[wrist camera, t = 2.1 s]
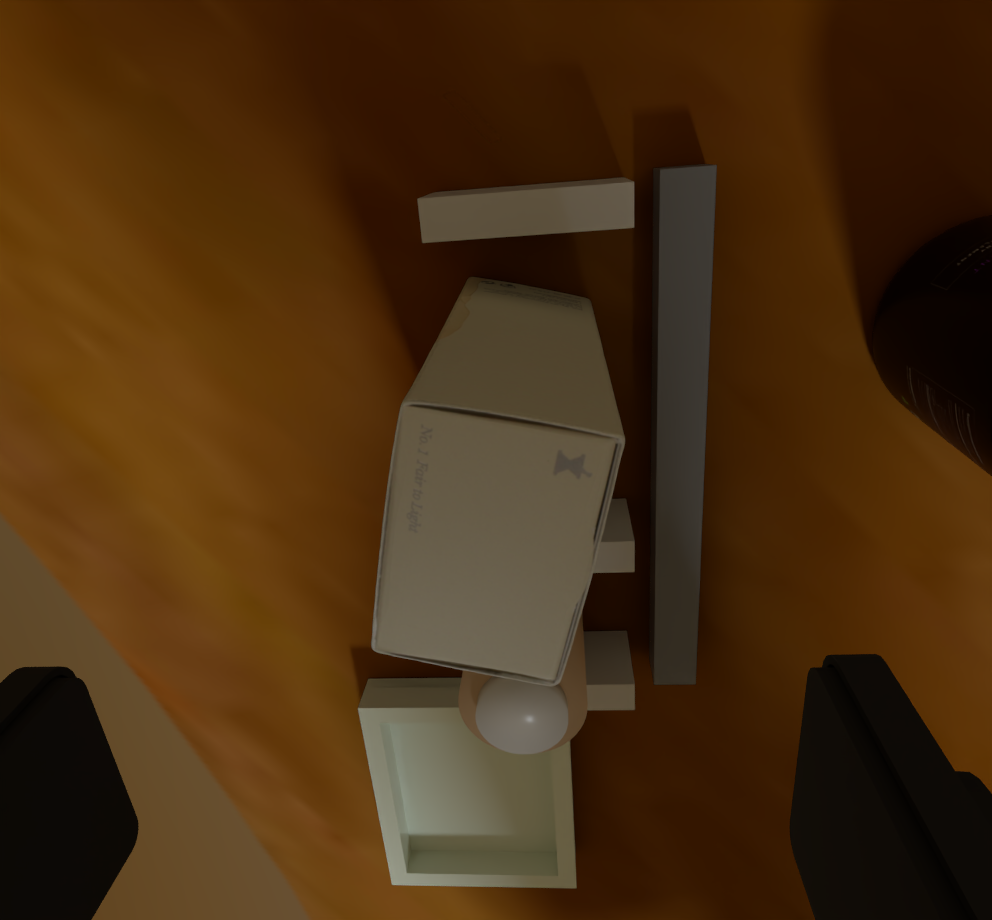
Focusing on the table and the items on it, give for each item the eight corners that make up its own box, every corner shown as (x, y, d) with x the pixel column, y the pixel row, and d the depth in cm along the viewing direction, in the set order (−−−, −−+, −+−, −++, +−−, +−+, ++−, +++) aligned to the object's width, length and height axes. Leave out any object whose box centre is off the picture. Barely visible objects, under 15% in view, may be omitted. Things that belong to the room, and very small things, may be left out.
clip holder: (705, 163, 22) (728, 166, 19) (688, 657, 30) (703, 713, 27) (434, 185, 23) (416, 191, 20) (483, 660, 30) (475, 715, 27)
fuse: (578, 534, 28) (586, 665, 21) (581, 621, 29) (590, 769, 22) (475, 538, 28) (449, 666, 21) (484, 623, 30) (462, 768, 23)
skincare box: (467, 272, 24) (392, 380, 13) (598, 297, 24) (634, 427, 13) (441, 443, 27) (358, 656, 16) (559, 466, 27) (561, 695, 16)
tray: (567, 676, 30) (567, 706, 29) (575, 853, 35) (576, 888, 33) (368, 678, 31) (357, 708, 30) (399, 850, 35) (392, 884, 34)
